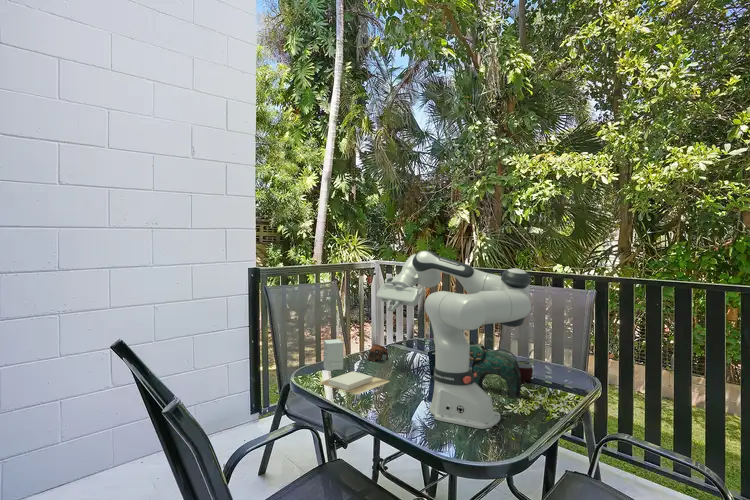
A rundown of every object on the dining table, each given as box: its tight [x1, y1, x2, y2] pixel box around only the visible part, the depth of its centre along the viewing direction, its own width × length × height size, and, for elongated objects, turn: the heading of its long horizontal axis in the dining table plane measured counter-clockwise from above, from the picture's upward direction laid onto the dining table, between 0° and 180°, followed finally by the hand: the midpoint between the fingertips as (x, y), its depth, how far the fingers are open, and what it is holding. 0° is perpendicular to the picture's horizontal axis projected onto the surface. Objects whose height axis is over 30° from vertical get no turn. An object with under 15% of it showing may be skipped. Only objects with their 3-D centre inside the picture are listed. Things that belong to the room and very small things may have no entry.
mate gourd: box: [517, 347, 537, 385], centre depth 171 cm, size 8×8×15 cm
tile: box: [329, 371, 373, 391], centre depth 163 cm, size 10×2×14 cm
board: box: [318, 371, 391, 395], centre depth 165 cm, size 20×20×1 cm
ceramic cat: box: [469, 337, 522, 399], centre depth 160 cm, size 20×6×20 cm, turn 53°
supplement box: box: [323, 338, 344, 372], centre depth 185 cm, size 7×7×13 cm
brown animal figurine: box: [367, 343, 389, 362], centre depth 202 cm, size 12×10×8 cm
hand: (390, 310), depth 179 cm, fingers closed
